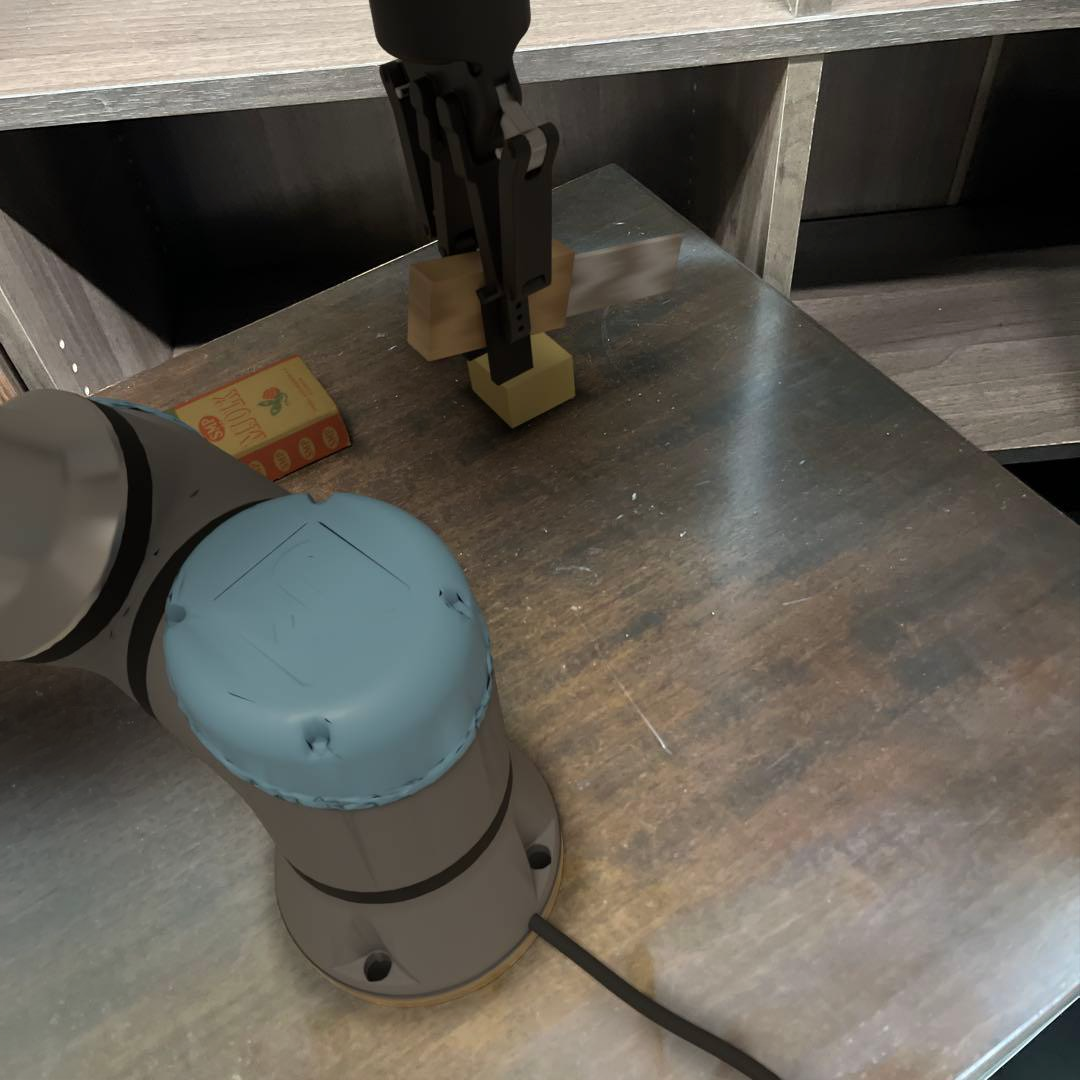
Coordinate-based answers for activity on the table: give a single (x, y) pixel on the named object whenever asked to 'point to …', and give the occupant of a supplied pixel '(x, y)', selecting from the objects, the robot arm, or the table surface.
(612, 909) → the table surface
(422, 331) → the knife
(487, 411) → the table surface
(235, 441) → the carton
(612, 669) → the table surface
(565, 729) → the table surface
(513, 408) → the butter
